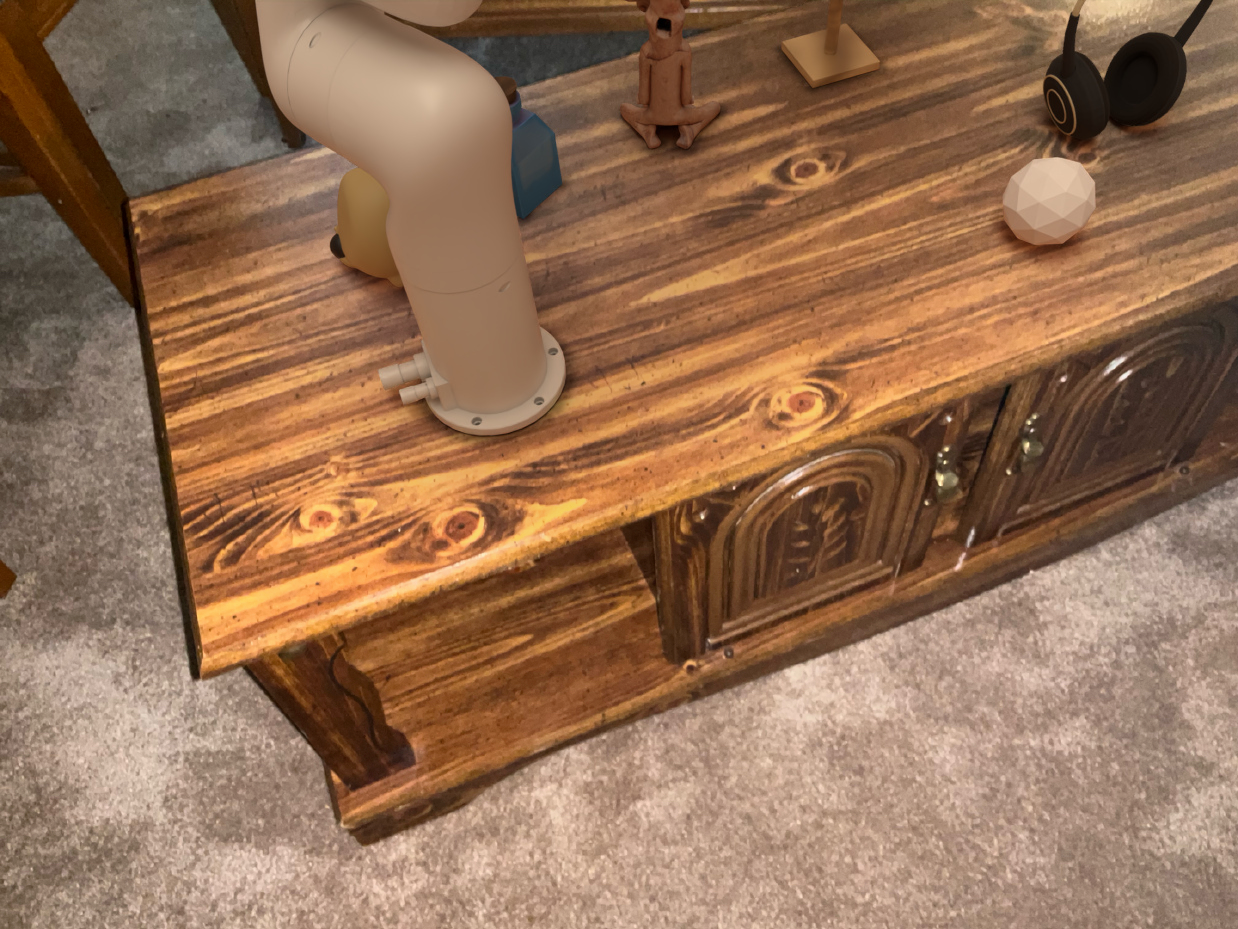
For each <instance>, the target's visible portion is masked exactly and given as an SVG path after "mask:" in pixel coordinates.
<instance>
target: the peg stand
mask: <svg viewBox="0 0 1238 929" xmlns="http://www.w3.org/2000/svg"><path fill="white" fill-rule="evenodd" d="M843 6H844V0H829V3H828V12H827V20H826V21H827V22H826V28H824V29H821V30H818V31H814V32H811V33H807V34H804V35H803V34H802V35H800V36H796V37H793V38H789V39H786V40H783V41H781V48H780V49H781V51H782V52H783V53H784V55H785V56H786V57H787V58H788V59H789V61H790V62H791V63H792V65H793V66H794V67H795V68H796V70H797V71H798V72H799V73H800V75H801V76H802V77H803V78H804V79H805V81H806V82H807V83H808V85H809V86H810V87H811V88H812V89H815V88H818V87H822V86H825V85H829V84H832V83H835V82H839V81H843V80H847V79H850V78H853V77H857V76H860V75H864V74H867V73H870V72H873V71H877V70H879V69H880V66H881V65H880V64H881V60H880V59H879V58H878V57H877V56H876V54H874V52H873V51H872V50H871V49H870V48H869V47H868V46H867V44H866V43H864V41H863V40H862V39H861V38H860V37H859V35H857V33H856V32H855V31H854V30H853V29H852V28H851V27H850V26H849V25H848V23H842V24H841V21H842V14H843Z"/></svg>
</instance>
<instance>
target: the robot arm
mask: <svg viewBox="0 0 1238 929" xmlns="http://www.w3.org/2000/svg"><path fill="white" fill-rule="evenodd" d="M483 1H484V0H254V2H255V9H256V18H257V25H258V32H259V34H258V35H259V41H260V50H261V55H262V56H261V57H262V63H263V67H264V72H265V76H266V80H267V83H268V84H267V85H268V86H269V89H270V92H271V95H272V97H273V100H274V101H275V103H276V105H277V107H278V109H279V111H281V113H282V115H283V116H284V117H285V118H286V119H287V120H288V121H289V122H290V123H291V124H292V125H293V126H294V127H296V128H297V129H298V130H300V131H301V132H303V133H304V134H305V135H306V136H308V137H309V138H312V139H313V140H314V141H315V142H317V143H318V144H321V145H323V146H324V147H325V148H327V149H329V150H330V151H332V152H334V153H336V154H337V155H339V156H340V157H342V158H344V159H346V160H347V162H349V163H350V164H352V165H354V166H356V168H357V167H359V168H361V169H362V170H364V171H365V172H367V173H368V174H370V175H371V176H372V177H373V178H375V179H376V180H377V181H378V182H379V183H380V184H381V186H382V187H383V188H384V189H385V191H386V193H387V195H388V197H389V201H390V208H389V211H388V214H387V218H386V235H387V239H388V243H389V247H390V250H391V253H392V256H393V259H394V261H395V264H396V267H397V269H398V271H399V274H400V277H401V280H402V282H403V285H404V286H403V287H404V290H405V293H406V296H407V298H408V301H409V302H408V303H409V304H410V307H411V310H412V312H413V315H414V318H415V321H416V324H417V326H418V330H419V332H420V335H421V337H422V339H420V344H421V347H422V350H423V351H421V352H418V353H415V354H412V357H413V359H411V360H408V361H404V362H401V363H397V362H396V363H394V364H391V365H387V366H384V367H381V368H378V369H377V373H378V376H379V379H380V382H381V384H382V387H383V389H384V391H386V392H387V391H389V390H392V389H395V388H399V387H402V386H405V385H406V384H408V383H410V382H414V381H417V380H421V383H419V384H418V383H417V384H416V385H413V384H412V385H410V386H407V387H403V388H401V389H399V390H398V393H399V396H400V399H401V402H402V404H403V406H406V405H409V404H412V403H416V402H418V401H419V400H422V399H425V402H426V404H427V406H428V408H429V409H430V411H431V412H432V414H433V415H434V417H436V419H438V420H439V421H440V422H442V423H443V424H444V425H446V426H448V427H450V428H451V429H453V430H455V431H458V432H461V433H465V434H467V435H475V436H498V435H504V434H508V433H509V434H510V433H511V432H515V431H518V430H521V429H523V428H525V427H527V426H529V425H531V424H533V423H535V422H536V421H538V420H539V419H541V418H542V417H543V416H544V415H546V414H547V413H548V412H549V411H550V409H552V408H553V406H555V404H556V402H557V401H558V399H559V398H560V396H561V394H562V392H563V389H564V388H565V385H566V379H567V368H566V366H567V365H566V360H565V355H564V351H563V350H562V347H561V346H560V343H559V341H557V339H556V338H555V337H554V335H552V333H550V332H549V331H547V330H546V329H545V328H544V327H542V326H541V325H540V322H539V317H538V311H537V307H536V303H535V302H536V301H535V298H534V292H533V288H532V282H531V277H530V273H529V269H528V264H527V258H526V253H525V249H524V245H523V239H522V235H521V231H520V224H519V221H518V216H517V215H516V209H515V204H514V197H513V189H512V177H511V154H512V116H511V111H510V107H509V103H508V101H507V98H506V96H505V94H504V92H503V90H502V89H501V87H500V85H499V84H498V83H497V81H496V80H495V79H494V78H495V77H494V76H493V75H492V74H491V72H489V71H488V70H487V69H485V67H483V66H482V65H481V64H480V63H479V62H478V61H476V60H475V59H473V58H471V56H469V55H468V54H466V53H464V52H463V51H461V50H459V49H457V48H455V47H454V46H452V45H450V44H448V43H446V42H445V41H442V40H440V39H438V38H436V37H434V36H432V35H430V34H428V33H426V32H424V31H422V30H420V29H417V28H416V27H413V26H411V25H409V24H405V23H403V22H401V21H399V20H396V19H395V18H393V17H390V16H389V15H391V16H394V17H396V18H398V19H401V20H403V21H407V22H411V23H414V24H417V25H420V26H426V27H439V28H444V27H451V26H454V25H457V24H460V23H463V22H464V21H466V20H468V19H469V18H470V17H471V16H472V15H473V14H474V13H475V12H476V11H477V10H478V9H479V7H480V6H481V5H482V3H483ZM385 13H387V14H389V15H386V14H385Z"/></svg>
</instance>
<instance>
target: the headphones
mask: <svg viewBox="0 0 1238 929" xmlns="http://www.w3.org/2000/svg"><path fill="white" fill-rule="evenodd" d="M1086 1H1087V0H1077V2H1076V3H1075V5H1074V7H1073V9H1072V11H1070V13H1069V17H1068V21H1067V24H1066V28H1065V30H1064V31H1065V32H1064V37H1063V45H1062V53H1061V54H1059V55H1057V56H1056V57H1055V58H1054V59H1052V60H1051V62H1050V64H1049V66H1048V68H1047V70H1046V73H1045V76H1044V79H1043V82H1042V95H1043V100H1044V102H1045V103H1044V104H1045V107H1046V109H1047V112H1048V114H1049V116H1050V118H1051V120H1052V122H1053V124H1054V125H1055V126H1056V128H1057V129H1058V130H1059V131H1060V132H1061V133H1063V134H1064V135H1067V136H1069V137H1072V138H1074V139H1077V140H1081V141H1088V140H1091V139H1093V138H1094V137H1097V136H1099V135H1100V134H1102V132H1103V131H1104V130H1105V129H1106V128H1107V126H1108V123H1109V120H1110V118H1112V119H1113V120H1114V121H1116V122H1117V123H1118V124H1121V125H1122V126H1127V127H1144V126H1148V125H1150V124H1153V123H1155V122H1156V121H1158V120H1160V119H1161V118H1163V117H1164V116H1166V114H1168V112H1170V110H1172V108H1173V107H1174V105H1175V104H1176V102H1177V101H1178V99H1179V98H1180V96H1181V93H1182V92H1183V89H1184V87H1185V83H1186V80H1187V74H1188V73H1187V72H1188V63H1187V62H1188V61H1187V56H1186V53H1185V50H1184V46H1186V44H1187V42H1188V41H1189V39H1190V38H1191V36H1192V35H1193V34H1194V32H1195V30H1196V29H1197V27H1198V26H1199V24H1200V23H1201V21H1202V20H1203V18H1204V17H1205V15H1206V13H1207V12H1208V11H1209V9H1210V6H1211V5H1212V3H1213V1H1214V0H1200V1H1199V2H1198V3H1197V5H1196V6H1195V8H1194V9H1193V10H1192V12H1191V13H1190V15H1189V16H1188V17H1187V19H1185V21H1184V22H1183V24H1182V25H1181V26H1180V28H1179V29H1178V30H1177V32H1176V33H1175V35H1174V36H1172V35H1169V34H1167V33H1164V32H1155V31H1148V32H1143V33H1141V34H1139V35H1136V36H1134V37H1133V38H1131V39H1129V40H1128V41H1127V42H1125V43H1124V44H1123V45H1122V46H1121V47H1120V48H1119V49H1118V50H1117V51H1116V53H1115V54H1114V55H1113V57H1112V59H1111V60H1110V62H1109V63H1108V66H1107V69H1106V72H1105V75H1104V78H1103V76H1102V75H1101V73H1100V70H1098V68H1097V66H1096V64H1094V62H1093V61H1092V60H1091V59H1090V58H1089V56H1087V55H1086V54H1083V53H1082V52H1080V51H1076V36H1077V30H1078V25H1079V22H1080V18H1081V14H1080V13H1081V11H1082V8H1083V6H1084V4H1085V2H1086Z"/></svg>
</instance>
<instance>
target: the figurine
mask: <svg viewBox="0 0 1238 929" xmlns="http://www.w3.org/2000/svg"><path fill="white" fill-rule="evenodd" d="M624 1H625V2H627V3H635V4H636V7H637V9H638V10H639V11H641V12H642V13H645V14H644V22H645V24H646V26H647V29H648V37H649V38H648V39H647V40H646V41H645V42H644V43H643V44H641V47H640V49H639V54H638V92H637V94H636V96H635V102H636V104H637V105H642V106H641V107H637V105H634V104H632V103H630V102H623V103H620V106H619V112H620V115H621V116H622V118H623V119H624V120H625V121H626V122H627V123H628V124H629V125H630V126H631V127H632V128H633V129H634V130H635V131H636V132H637V133H638V134H639V135H640V136H641V137H642V138H643V139H644V141H645V143H646V145H647V147H648V148H649V149H656V148H658V147H660V145H661V144H662V143H661V142H662V141H661V140H660V138H659V137H658V135H657V133H656V131H657V126H678V132H679V134H680V136H679V137H678V139H677V140H676V143H675V144H676V146H677V147H680V148H682V149H684V150H686V149H690V148H691V146H692V144H693V142H694V139H695V138H696V137H697V135H698V134H699V133H700V132H701V130H702V129H704V128H705V127H707V126H708V125H709V123H711V122H712V120H714V119H715V118H716V117H717V116H718V115H719V114H720V112H721V105H720V103H719V102H718V101H716V100H712V101H709V102H707V103H704V104H702V105H700V106H695V105H694V104H695V95H694V94H693V93H692V65H693V53H692V46H691V44H690V42H689V41H688V40H686V39H684V38H683V37H684V36H683V28H684V23H685V21H686V10H687V9H688V8H689V7H691V0H624Z"/></svg>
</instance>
